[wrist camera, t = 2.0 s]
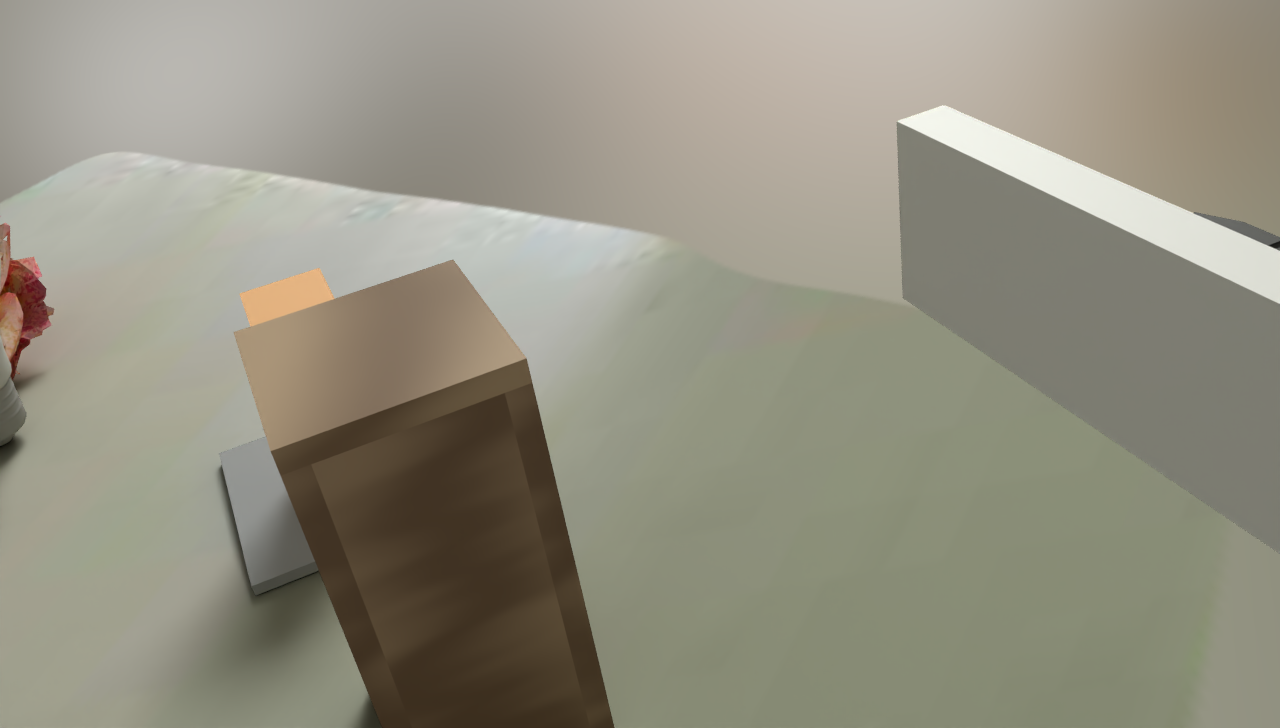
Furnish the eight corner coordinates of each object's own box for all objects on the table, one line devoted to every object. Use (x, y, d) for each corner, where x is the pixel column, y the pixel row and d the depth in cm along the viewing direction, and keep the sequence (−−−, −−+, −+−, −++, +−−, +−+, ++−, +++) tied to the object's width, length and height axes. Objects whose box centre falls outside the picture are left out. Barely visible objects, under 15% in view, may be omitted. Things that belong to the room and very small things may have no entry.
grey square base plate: (255, 595, 36) (168, 402, 32) (222, 461, 42) (146, 286, 38) (496, 500, 38) (443, 308, 34) (431, 386, 45) (380, 213, 41)
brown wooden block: (422, 826, 28) (270, 451, 22) (373, 683, 32) (233, 332, 26) (616, 735, 30) (526, 358, 23) (545, 608, 34) (453, 259, 28)
